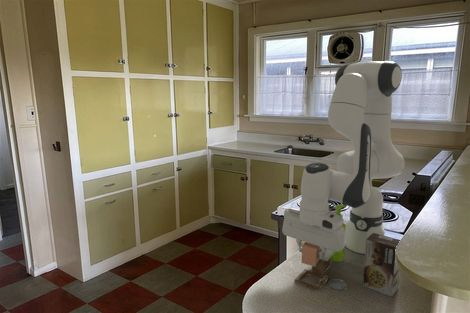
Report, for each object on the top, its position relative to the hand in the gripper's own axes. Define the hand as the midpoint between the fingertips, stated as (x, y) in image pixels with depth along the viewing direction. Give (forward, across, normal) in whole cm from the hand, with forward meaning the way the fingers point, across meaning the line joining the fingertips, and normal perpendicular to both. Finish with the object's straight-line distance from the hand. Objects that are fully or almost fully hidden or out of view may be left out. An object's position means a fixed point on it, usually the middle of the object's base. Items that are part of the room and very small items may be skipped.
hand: (310, 254), depth 108 cm
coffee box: (+8, +20, +9) cm, 23 cm away
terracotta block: (+2, 0, 0) cm, 2 cm away
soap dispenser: (+9, +2, +20) cm, 22 cm away
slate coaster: (+8, +9, +2) cm, 12 cm away
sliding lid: (+3, +1, +8) cm, 9 cm away
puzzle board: (+9, +1, +4) cm, 10 cm away
